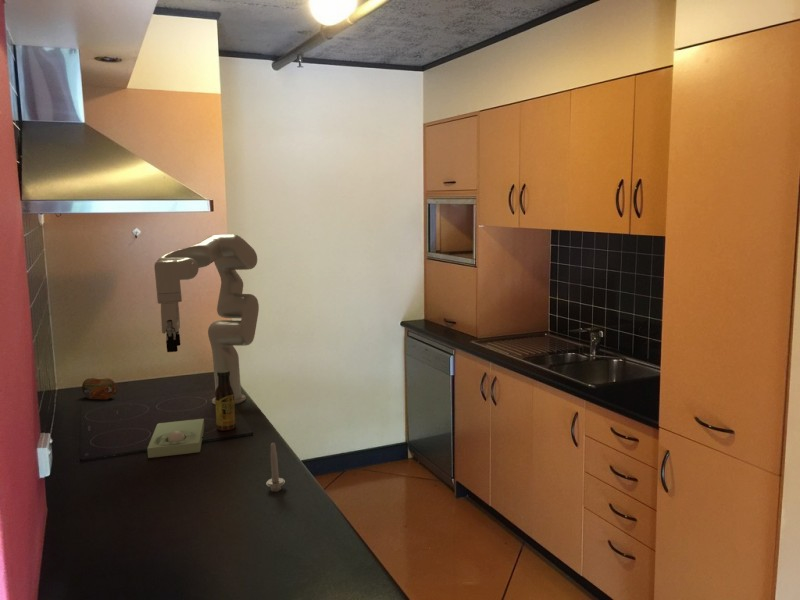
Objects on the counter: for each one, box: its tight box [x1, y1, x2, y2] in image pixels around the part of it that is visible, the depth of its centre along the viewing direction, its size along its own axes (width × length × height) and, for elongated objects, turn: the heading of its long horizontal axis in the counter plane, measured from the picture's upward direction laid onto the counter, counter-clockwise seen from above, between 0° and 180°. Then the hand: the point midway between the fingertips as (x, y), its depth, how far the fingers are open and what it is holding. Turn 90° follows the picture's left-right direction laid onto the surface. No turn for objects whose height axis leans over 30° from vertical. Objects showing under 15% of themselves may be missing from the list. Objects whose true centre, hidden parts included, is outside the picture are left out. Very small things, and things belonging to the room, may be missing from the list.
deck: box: [146, 418, 206, 459], centre depth 210 cm, size 24×15×3 cm, turn 13°
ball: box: [168, 431, 185, 442], centre depth 205 cm, size 5×5×5 cm
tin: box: [81, 377, 117, 400], centre depth 263 cm, size 15×3×8 cm, turn 73°
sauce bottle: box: [214, 370, 236, 432], centre depth 220 cm, size 7×6×20 cm
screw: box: [265, 442, 286, 493], centre depth 170 cm, size 13×5×5 cm
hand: (174, 348), depth 217 cm, fingers open, 9 cm apart
